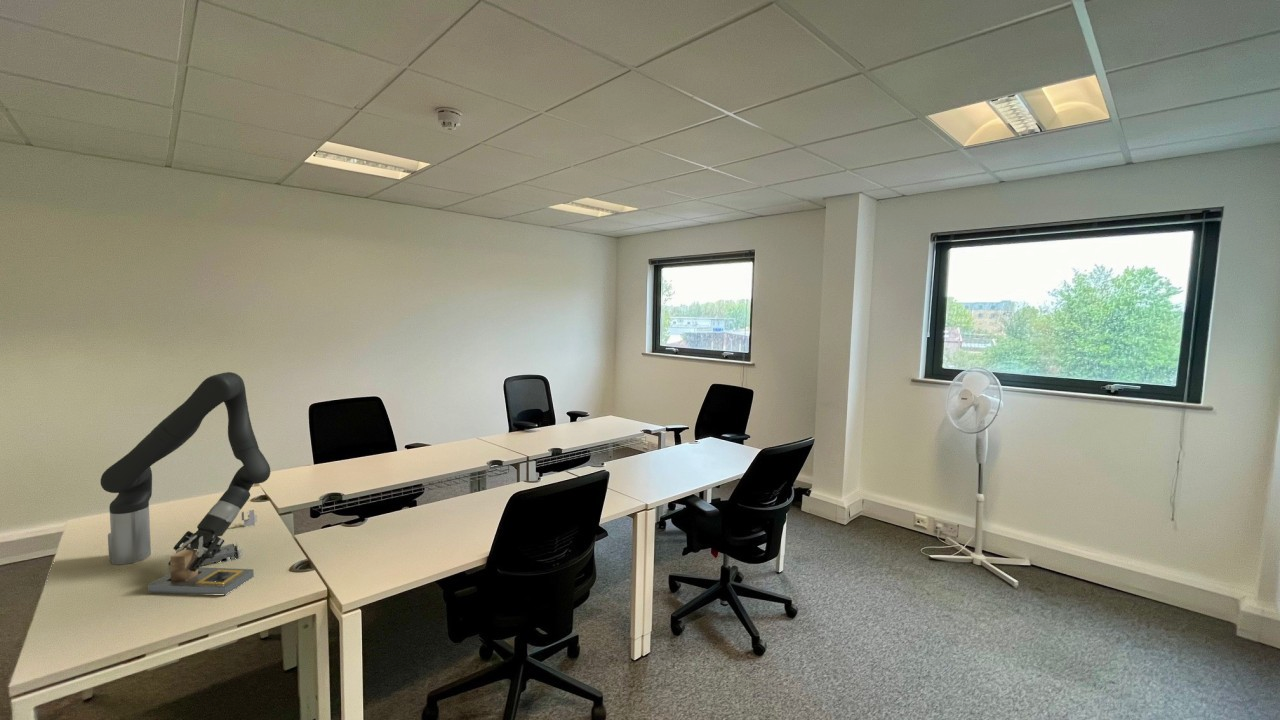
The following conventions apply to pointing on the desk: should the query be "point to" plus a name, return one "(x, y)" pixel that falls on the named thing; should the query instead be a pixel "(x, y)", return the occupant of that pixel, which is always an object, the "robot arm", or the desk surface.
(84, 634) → the desk surface
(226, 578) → the square hole plate
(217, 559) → the graphics card
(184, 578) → the peg
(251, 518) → the small white bracket
